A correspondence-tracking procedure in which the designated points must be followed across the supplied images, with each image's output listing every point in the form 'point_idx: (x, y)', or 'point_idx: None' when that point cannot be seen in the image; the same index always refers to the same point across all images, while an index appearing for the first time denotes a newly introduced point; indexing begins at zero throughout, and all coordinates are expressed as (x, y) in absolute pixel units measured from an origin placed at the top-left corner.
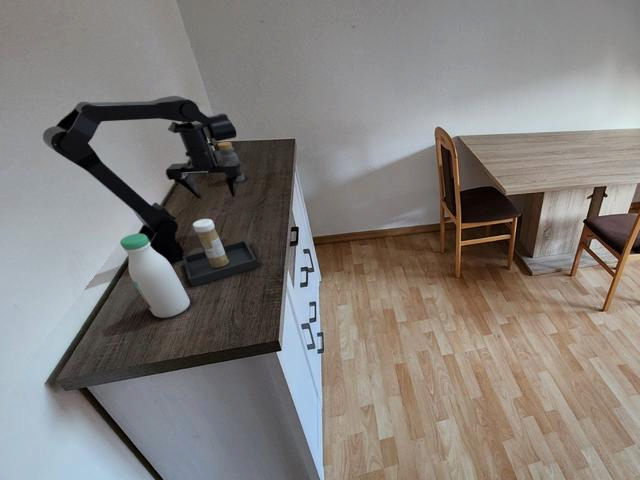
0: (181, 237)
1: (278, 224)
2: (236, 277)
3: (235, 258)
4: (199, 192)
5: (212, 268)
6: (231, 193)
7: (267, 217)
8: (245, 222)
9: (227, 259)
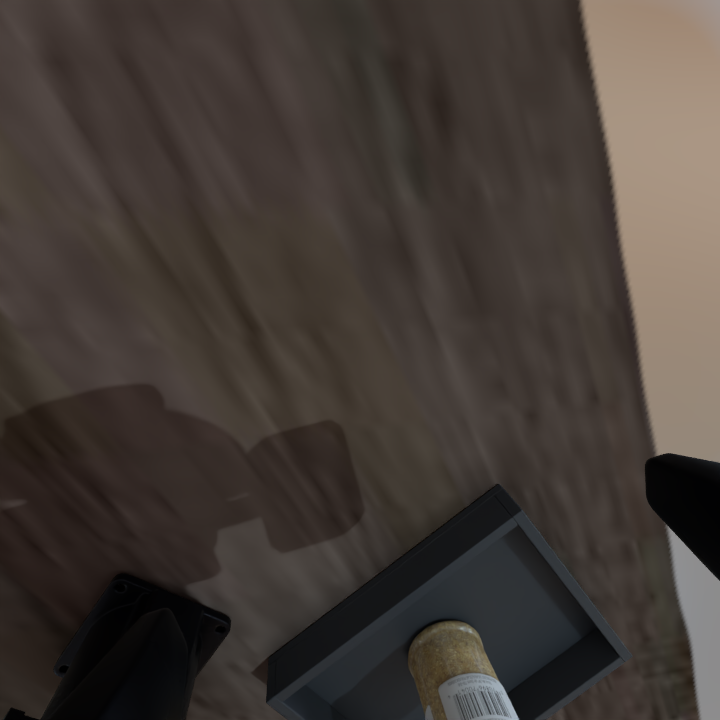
0: (20, 429)
1: (589, 203)
2: None
3: (492, 601)
4: (130, 688)
5: None
6: (717, 570)
7: (481, 82)
8: (350, 178)
9: (482, 647)
